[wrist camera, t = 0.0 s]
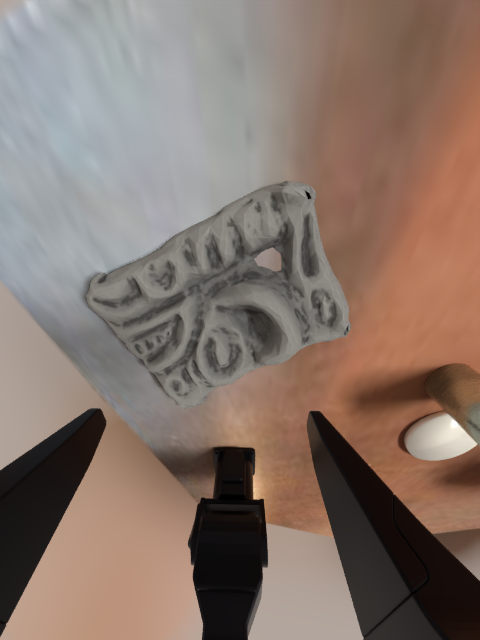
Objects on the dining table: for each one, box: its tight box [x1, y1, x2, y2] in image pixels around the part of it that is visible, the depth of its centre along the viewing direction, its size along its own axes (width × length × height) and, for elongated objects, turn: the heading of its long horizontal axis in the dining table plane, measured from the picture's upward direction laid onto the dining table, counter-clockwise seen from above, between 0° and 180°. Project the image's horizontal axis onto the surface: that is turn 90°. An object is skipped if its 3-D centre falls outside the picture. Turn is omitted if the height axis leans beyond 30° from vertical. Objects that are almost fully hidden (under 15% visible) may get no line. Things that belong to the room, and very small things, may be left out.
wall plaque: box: [86, 181, 351, 409], centre depth 22 cm, size 24×19×4 cm
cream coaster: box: [404, 411, 477, 461], centre depth 31 cm, size 10×10×1 cm
